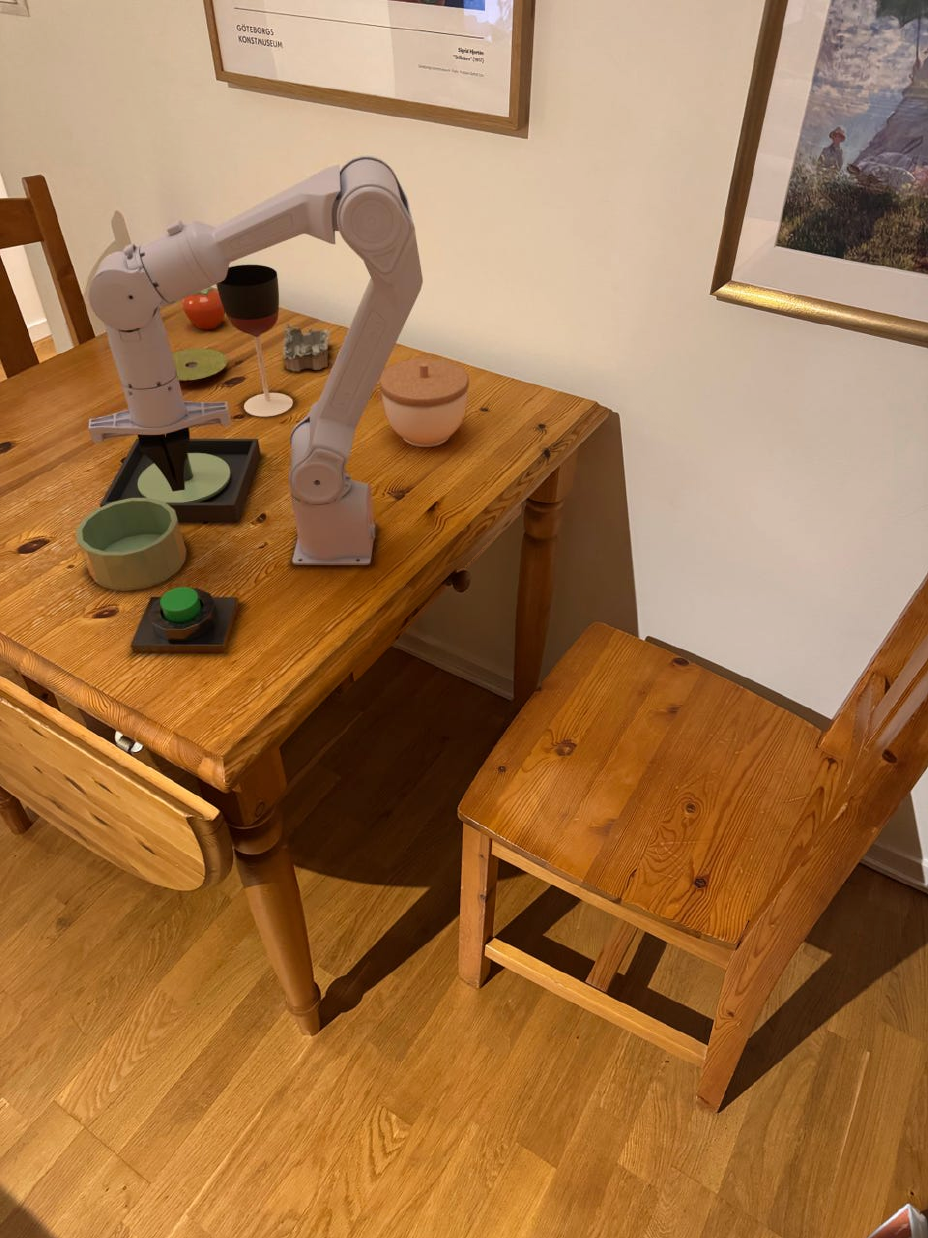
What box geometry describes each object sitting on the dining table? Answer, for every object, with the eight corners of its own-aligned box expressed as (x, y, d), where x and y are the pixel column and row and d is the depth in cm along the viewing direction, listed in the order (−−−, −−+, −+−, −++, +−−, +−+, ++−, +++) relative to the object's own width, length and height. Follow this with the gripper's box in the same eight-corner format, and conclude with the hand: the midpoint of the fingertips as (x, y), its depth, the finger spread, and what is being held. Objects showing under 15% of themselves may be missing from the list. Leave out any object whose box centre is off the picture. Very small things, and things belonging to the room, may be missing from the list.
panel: (239, 604, 99) (234, 584, 97) (224, 653, 94) (219, 633, 92) (153, 604, 100) (146, 584, 98) (133, 653, 94) (125, 633, 92)
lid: (239, 459, 121) (233, 429, 118) (221, 509, 112) (213, 479, 109) (153, 459, 121) (145, 429, 118) (128, 509, 112) (118, 479, 109)
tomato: (217, 313, 159) (208, 269, 154) (237, 326, 155) (228, 281, 150) (180, 324, 156) (169, 280, 151) (199, 337, 152) (189, 292, 146)
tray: (261, 455, 123) (257, 438, 121) (238, 522, 111) (234, 504, 109) (141, 455, 123) (136, 438, 121) (105, 522, 111) (99, 504, 109)
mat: (238, 360, 145) (236, 349, 144) (215, 392, 137) (212, 381, 136) (174, 356, 146) (172, 346, 145) (148, 388, 138) (144, 377, 137)
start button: (204, 598, 96) (201, 586, 95) (196, 623, 93) (192, 611, 92) (169, 598, 96) (165, 586, 95) (159, 622, 93) (155, 610, 92)
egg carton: (288, 345, 150) (285, 322, 147) (332, 343, 150) (329, 320, 147) (282, 373, 142) (278, 349, 139) (328, 371, 142) (325, 348, 139)
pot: (196, 533, 110) (186, 497, 106) (173, 591, 101) (162, 555, 98) (107, 532, 110) (94, 497, 106) (76, 591, 101) (62, 555, 98)
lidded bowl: (367, 443, 125) (360, 373, 118) (411, 406, 134) (407, 337, 126) (443, 465, 121) (441, 393, 113) (483, 425, 129) (484, 355, 122)
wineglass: (286, 419, 131) (264, 288, 117) (232, 414, 132) (205, 283, 118) (303, 394, 136) (285, 266, 123) (251, 389, 138) (228, 262, 124)
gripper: (217, 351, 94) (239, 458, 103) (78, 367, 91) (113, 476, 100) (221, 380, 89) (244, 490, 98) (73, 399, 86) (112, 510, 95)
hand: (178, 486), depth 99 cm, fingers closed
